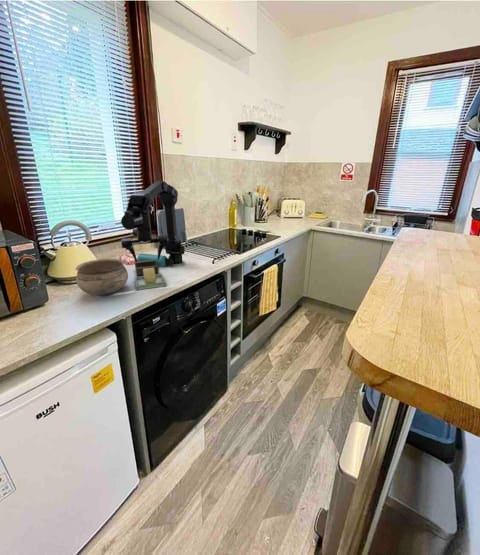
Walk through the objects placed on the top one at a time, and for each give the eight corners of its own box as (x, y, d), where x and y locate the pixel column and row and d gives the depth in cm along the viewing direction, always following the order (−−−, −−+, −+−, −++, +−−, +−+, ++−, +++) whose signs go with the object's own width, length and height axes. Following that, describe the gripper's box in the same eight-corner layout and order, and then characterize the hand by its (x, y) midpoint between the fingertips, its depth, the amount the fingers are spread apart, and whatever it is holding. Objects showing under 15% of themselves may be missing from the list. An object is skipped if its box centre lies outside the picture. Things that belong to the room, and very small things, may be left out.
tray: (162, 277, 130) (161, 273, 129) (166, 286, 120) (165, 282, 119) (135, 281, 125) (134, 277, 124) (136, 290, 116) (136, 286, 115)
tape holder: (135, 270, 139) (134, 261, 137) (156, 268, 142) (155, 258, 141) (137, 280, 127) (136, 270, 125) (159, 277, 130) (158, 267, 129)
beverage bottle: (133, 262, 142) (168, 265, 137) (136, 250, 144) (171, 253, 139) (139, 267, 148) (173, 270, 143) (142, 255, 150) (176, 258, 145)
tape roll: (143, 279, 124) (142, 265, 120) (154, 277, 126) (153, 264, 122) (145, 287, 119) (143, 274, 115) (156, 286, 121) (155, 272, 117)
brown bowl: (66, 294, 112) (59, 266, 108) (108, 279, 127) (103, 254, 123) (103, 309, 100) (97, 278, 96) (144, 291, 115) (141, 264, 111)
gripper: (163, 220, 124) (166, 253, 130) (118, 223, 117) (124, 257, 123) (167, 224, 114) (170, 260, 120) (119, 228, 108) (125, 265, 113)
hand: (147, 260), depth 119 cm, fingers open, 9 cm apart
